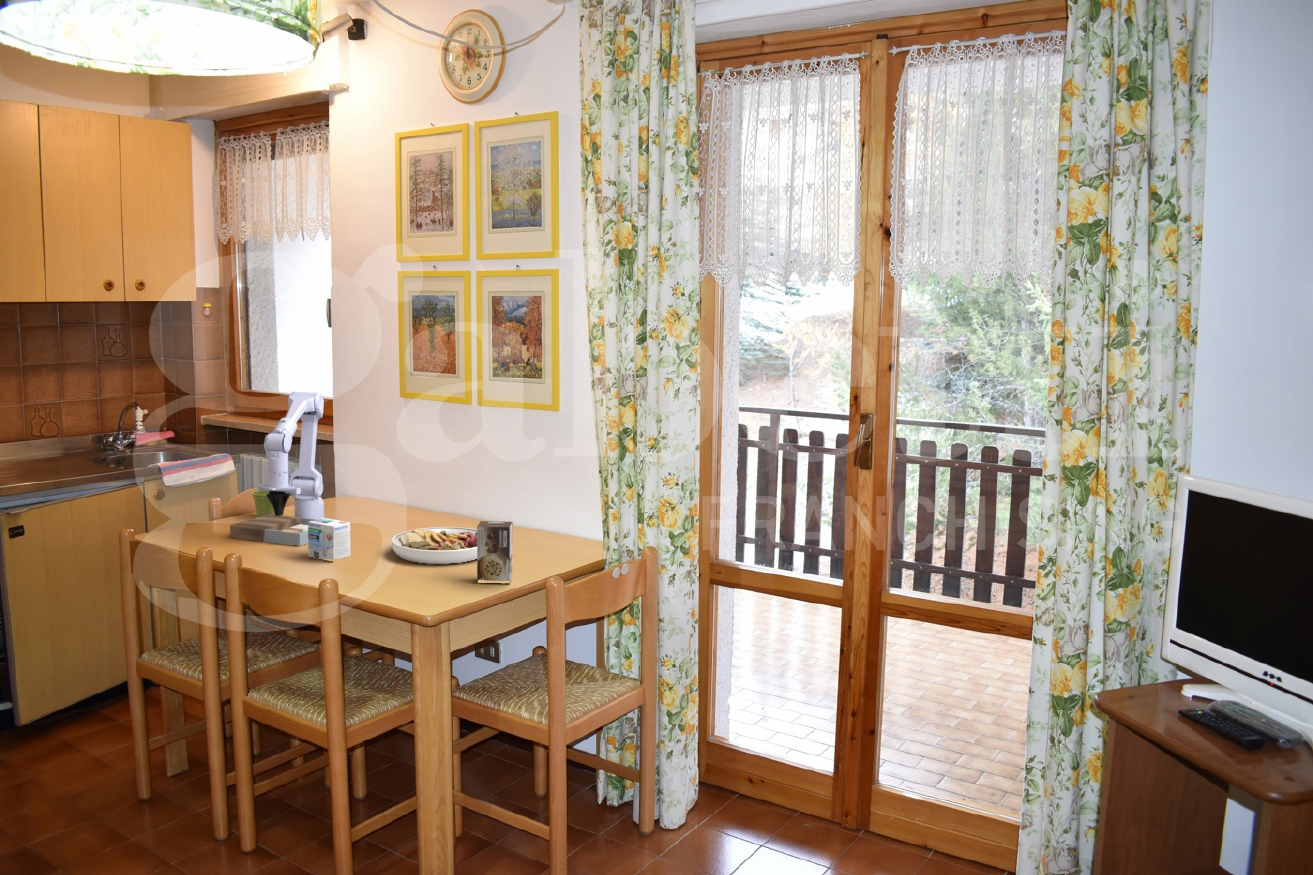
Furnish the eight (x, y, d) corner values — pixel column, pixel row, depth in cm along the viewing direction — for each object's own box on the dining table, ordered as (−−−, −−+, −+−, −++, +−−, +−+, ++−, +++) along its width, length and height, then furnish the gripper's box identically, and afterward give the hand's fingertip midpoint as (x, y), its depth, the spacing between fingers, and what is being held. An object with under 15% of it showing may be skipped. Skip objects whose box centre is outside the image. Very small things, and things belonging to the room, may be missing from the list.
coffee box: (512, 578, 262) (513, 521, 259) (509, 584, 255) (510, 526, 253) (479, 577, 261) (480, 520, 259) (476, 584, 255) (476, 525, 253)
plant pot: (253, 514, 326) (253, 489, 324) (282, 513, 328) (282, 489, 327) (250, 520, 317) (250, 495, 316) (280, 519, 320) (280, 494, 318)
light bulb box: (307, 557, 275) (306, 521, 273) (325, 552, 281) (324, 517, 279) (334, 563, 270) (333, 526, 268) (351, 558, 276) (351, 522, 274)
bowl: (391, 569, 267) (391, 542, 265) (392, 543, 295) (392, 518, 294) (498, 566, 274) (498, 539, 273) (489, 540, 303) (489, 516, 302)
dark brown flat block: (269, 525, 311) (269, 513, 310) (300, 529, 307) (300, 517, 307) (230, 537, 293) (229, 525, 293) (262, 541, 290) (262, 529, 290)
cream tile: (313, 525, 301) (313, 533, 301) (300, 524, 302) (300, 531, 302) (303, 529, 296) (303, 536, 296) (289, 527, 297) (289, 535, 298)
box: (301, 529, 307) (301, 517, 307) (336, 533, 303) (336, 521, 303) (263, 541, 290) (263, 529, 289) (299, 546, 286) (299, 533, 286)
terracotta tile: (298, 530, 293) (298, 538, 294) (284, 529, 295) (285, 537, 295) (287, 534, 289) (287, 542, 289) (274, 532, 290) (274, 540, 290)
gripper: (249, 472, 288) (250, 515, 290) (289, 476, 284) (290, 520, 286) (265, 468, 295) (266, 511, 297) (304, 472, 291) (305, 515, 293)
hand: (279, 515), depth 292 cm, fingers closed
